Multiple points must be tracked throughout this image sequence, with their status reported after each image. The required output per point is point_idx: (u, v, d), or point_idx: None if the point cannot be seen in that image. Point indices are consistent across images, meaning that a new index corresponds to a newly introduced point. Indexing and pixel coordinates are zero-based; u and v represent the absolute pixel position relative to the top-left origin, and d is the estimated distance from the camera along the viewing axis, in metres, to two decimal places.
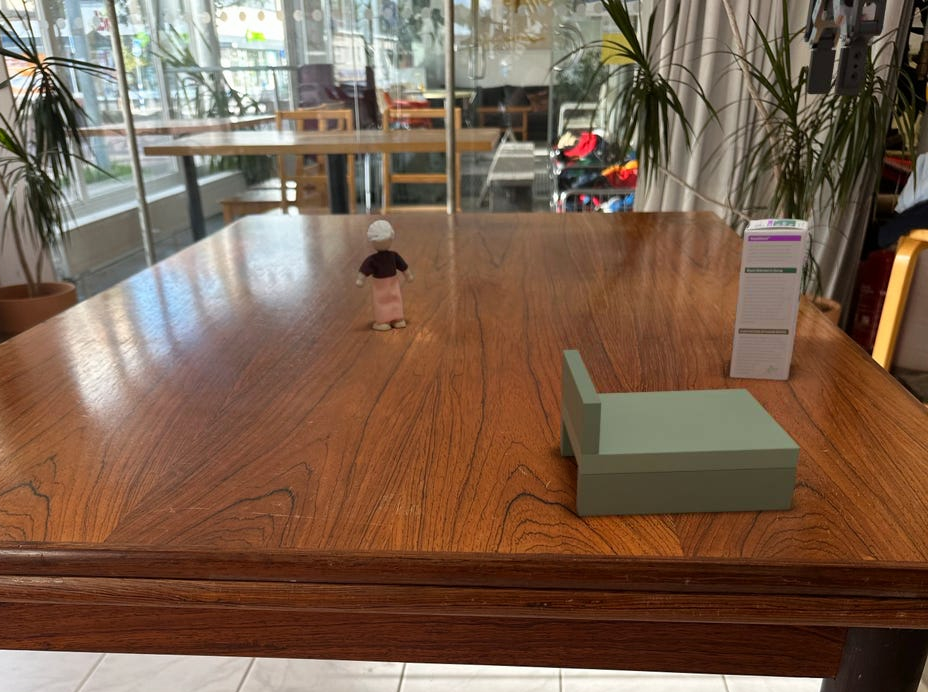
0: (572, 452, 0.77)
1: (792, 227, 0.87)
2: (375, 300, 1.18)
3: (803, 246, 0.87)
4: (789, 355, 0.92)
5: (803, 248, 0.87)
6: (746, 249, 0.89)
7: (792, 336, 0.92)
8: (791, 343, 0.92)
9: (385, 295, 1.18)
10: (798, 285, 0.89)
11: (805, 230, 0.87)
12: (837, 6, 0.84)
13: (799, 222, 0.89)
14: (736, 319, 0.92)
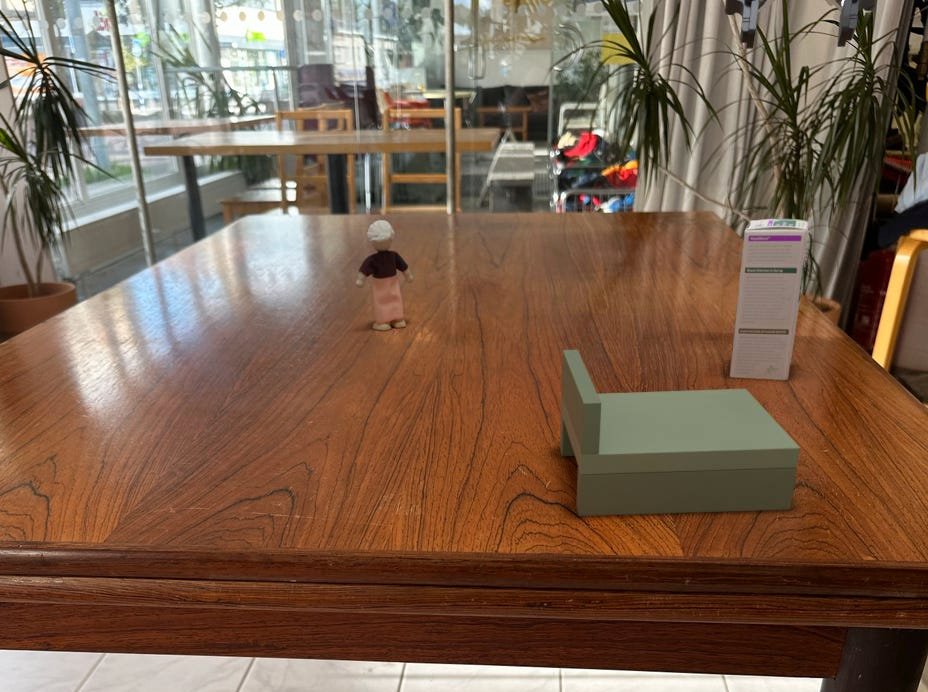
0: (572, 452, 0.77)
1: (792, 227, 0.87)
2: (375, 300, 1.18)
3: (803, 246, 0.87)
4: (789, 355, 0.92)
5: (803, 248, 0.87)
6: (746, 250, 0.89)
7: (792, 336, 0.92)
8: (791, 343, 0.92)
9: (385, 295, 1.18)
10: (798, 285, 0.89)
11: (805, 230, 0.87)
12: None
13: (799, 222, 0.89)
14: (736, 319, 0.92)
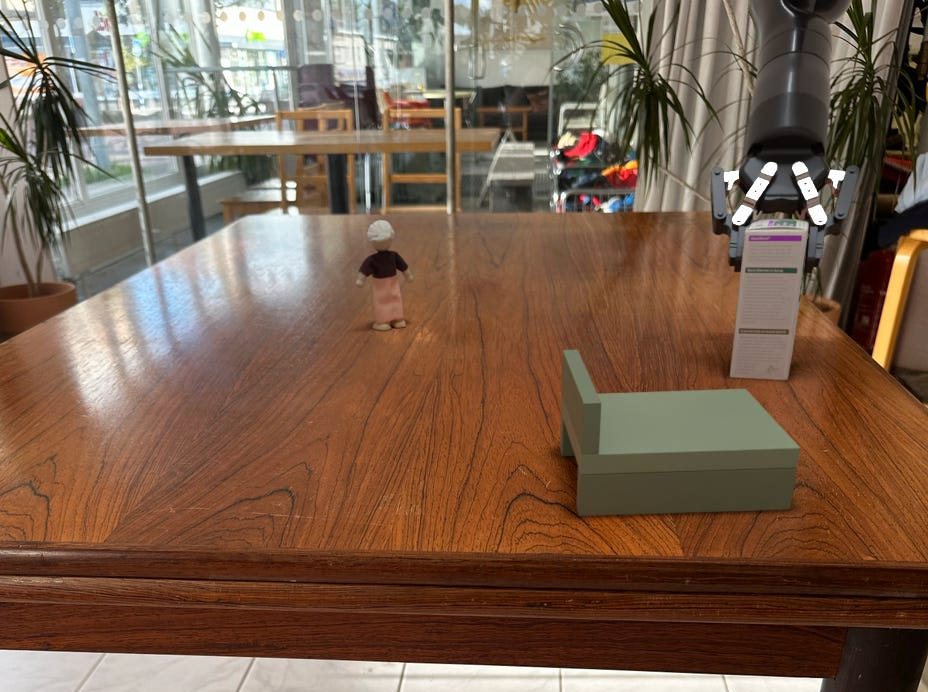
0: (572, 452, 0.77)
1: (793, 227, 0.87)
2: (375, 300, 1.18)
3: (804, 246, 0.87)
4: (789, 355, 0.92)
5: (804, 248, 0.87)
6: (747, 249, 0.89)
7: (792, 336, 0.92)
8: (791, 343, 0.92)
9: (385, 295, 1.18)
10: (798, 285, 0.89)
11: (806, 230, 0.86)
12: None
13: (800, 222, 0.89)
14: (736, 319, 0.92)
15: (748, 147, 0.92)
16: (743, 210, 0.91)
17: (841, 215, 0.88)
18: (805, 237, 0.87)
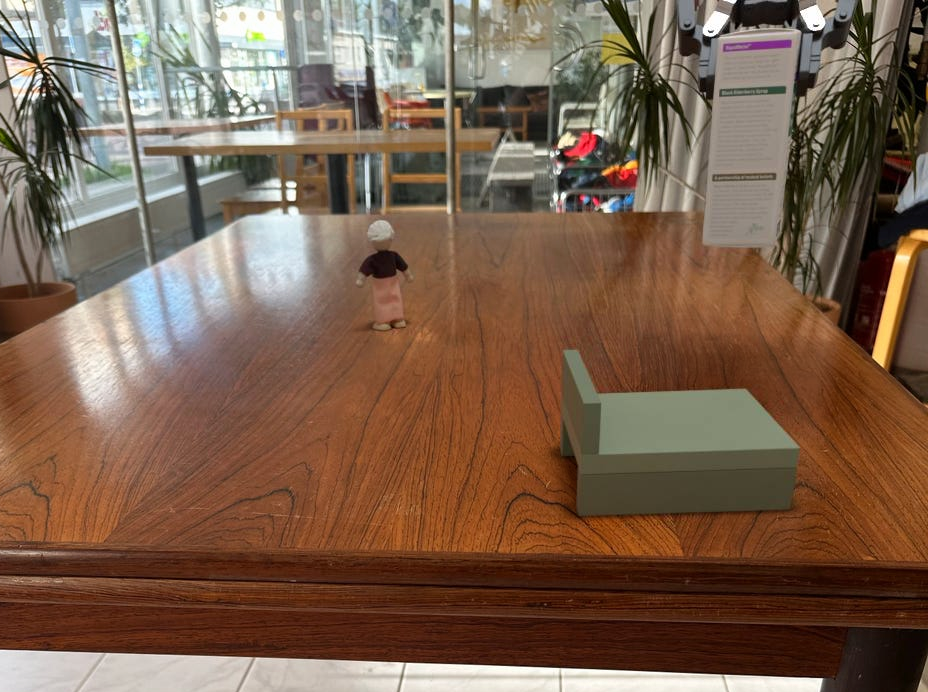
0: (572, 452, 0.77)
1: (780, 29, 0.66)
2: (375, 300, 1.18)
3: (794, 55, 0.67)
4: (777, 208, 0.72)
5: (794, 58, 0.67)
6: (721, 64, 0.68)
7: (781, 182, 0.71)
8: (780, 192, 0.71)
9: (385, 295, 1.18)
10: (788, 110, 0.69)
11: (797, 32, 0.66)
12: None
13: None
14: (709, 162, 0.72)
15: None
16: (716, 18, 0.70)
17: (843, 17, 0.68)
18: (796, 42, 0.66)
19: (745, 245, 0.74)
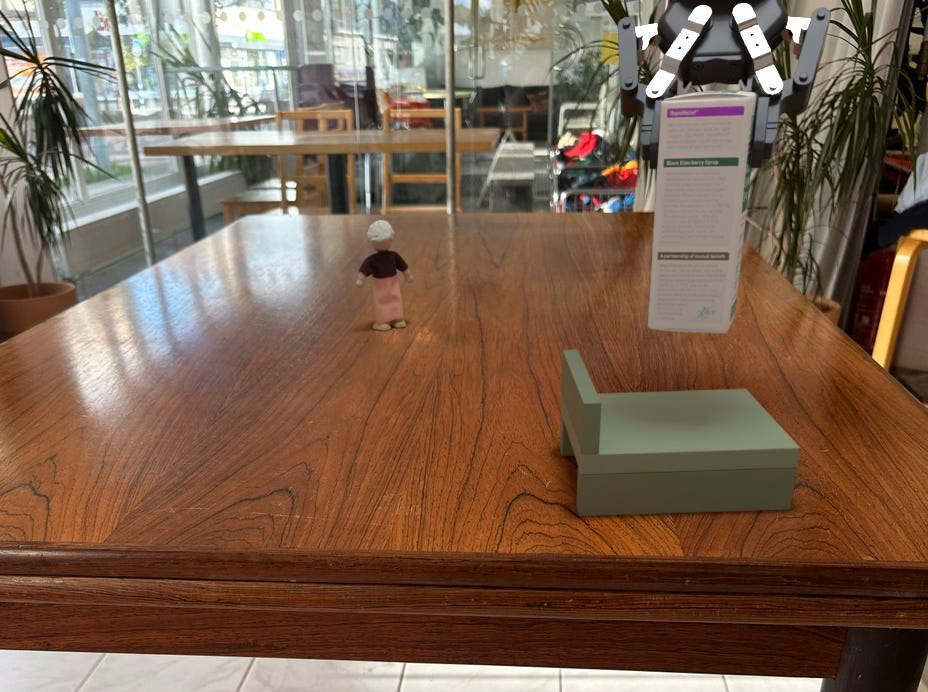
0: (572, 452, 0.77)
1: (731, 94, 0.58)
2: (375, 300, 1.18)
3: (747, 123, 0.58)
4: (730, 291, 0.64)
5: (747, 126, 0.59)
6: (665, 131, 0.60)
7: (734, 263, 0.63)
8: (733, 273, 0.63)
9: (385, 295, 1.18)
10: (741, 184, 0.60)
11: (750, 98, 0.58)
12: None
13: None
14: (654, 238, 0.63)
15: None
16: (661, 76, 0.62)
17: (804, 79, 0.60)
18: (749, 109, 0.58)
19: (695, 330, 0.66)
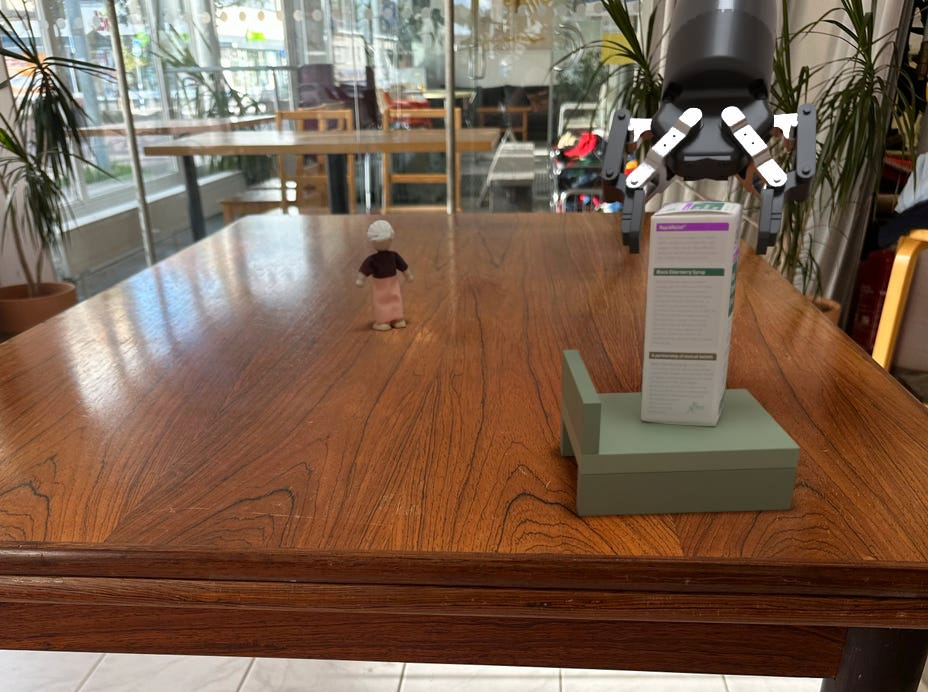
0: (572, 452, 0.77)
1: (716, 211, 0.62)
2: (375, 300, 1.18)
3: (732, 238, 0.62)
4: (718, 388, 0.67)
5: (732, 241, 0.62)
6: (654, 243, 0.64)
7: (722, 363, 0.66)
8: (721, 372, 0.67)
9: (385, 295, 1.18)
10: (727, 293, 0.64)
11: (734, 215, 0.61)
12: None
13: (728, 205, 0.64)
14: (645, 339, 0.67)
15: (663, 89, 0.67)
16: (643, 169, 0.65)
17: (806, 173, 0.63)
18: (733, 225, 0.62)
19: (686, 423, 0.69)
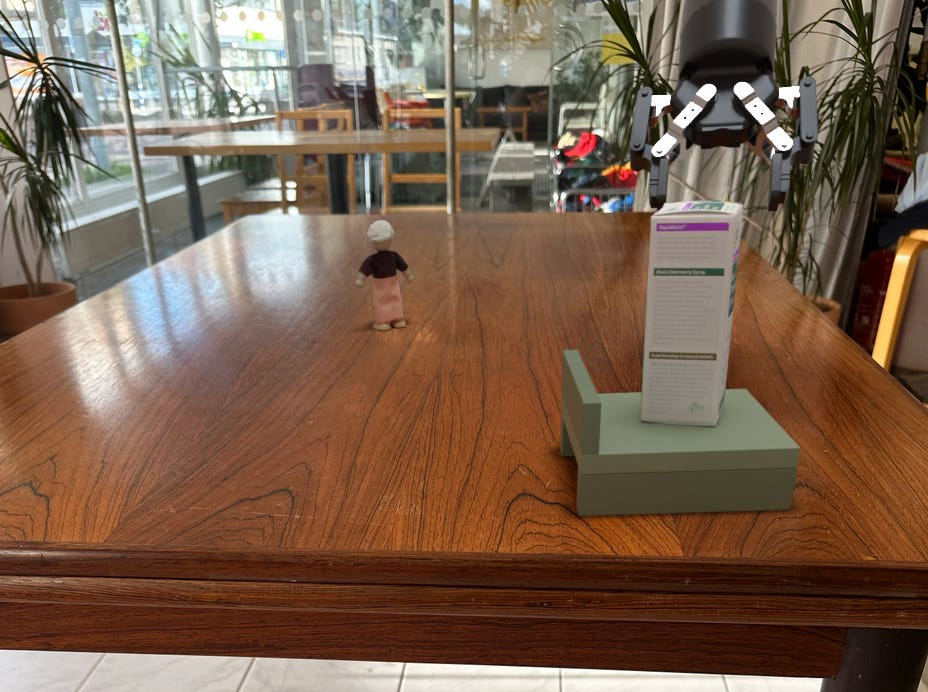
0: (572, 452, 0.77)
1: (716, 211, 0.62)
2: (375, 300, 1.18)
3: (732, 238, 0.62)
4: (718, 388, 0.67)
5: (732, 241, 0.62)
6: (654, 243, 0.64)
7: (722, 363, 0.66)
8: (721, 372, 0.67)
9: (385, 295, 1.18)
10: (727, 293, 0.64)
11: (734, 215, 0.61)
12: None
13: (729, 205, 0.64)
14: (645, 339, 0.67)
15: (680, 68, 0.76)
16: (666, 139, 0.75)
17: (810, 137, 0.72)
18: (734, 225, 0.62)
19: (686, 423, 0.69)
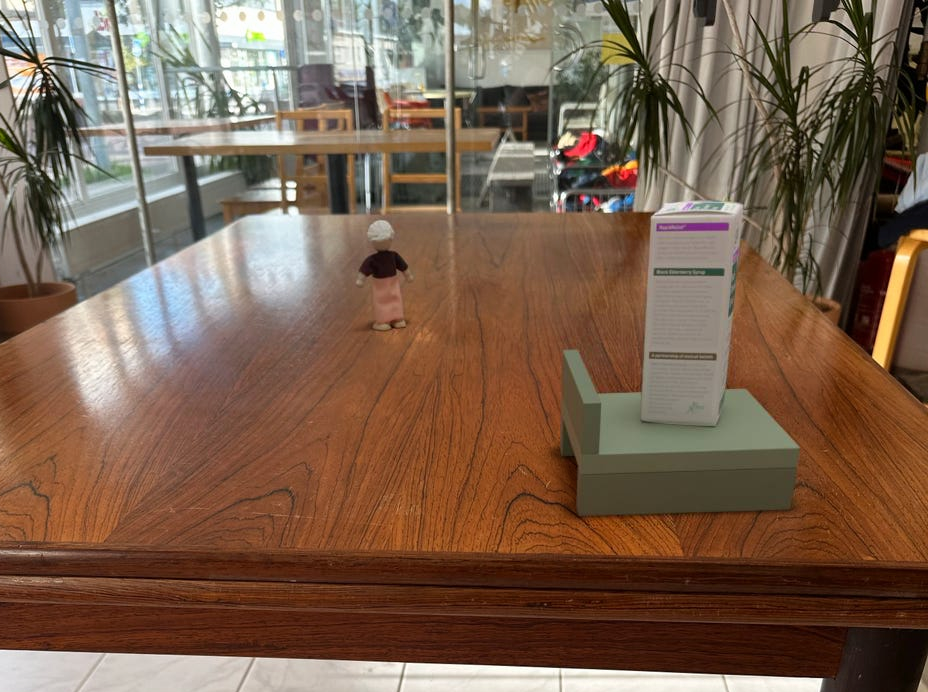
0: (572, 452, 0.77)
1: (716, 211, 0.62)
2: (375, 300, 1.18)
3: (732, 238, 0.62)
4: (718, 388, 0.67)
5: (732, 241, 0.62)
6: (654, 243, 0.64)
7: (722, 363, 0.66)
8: (721, 372, 0.67)
9: (385, 295, 1.18)
10: (727, 293, 0.64)
11: (734, 215, 0.61)
12: None
13: (728, 205, 0.64)
14: (645, 339, 0.67)
15: None
16: None
17: None
18: (734, 225, 0.62)
19: (686, 423, 0.69)
